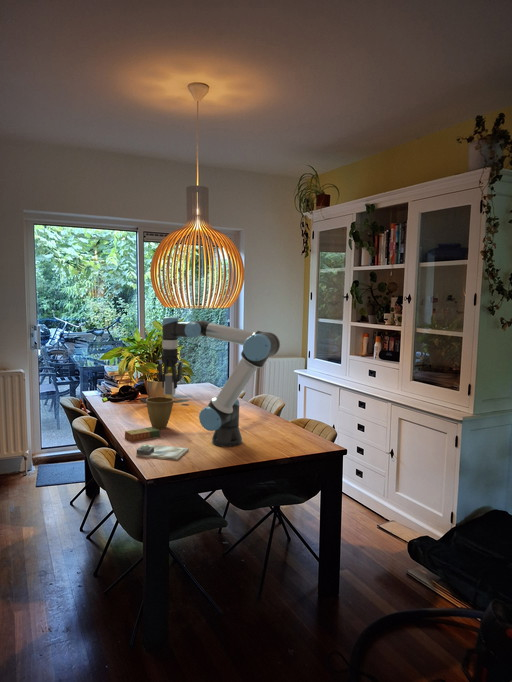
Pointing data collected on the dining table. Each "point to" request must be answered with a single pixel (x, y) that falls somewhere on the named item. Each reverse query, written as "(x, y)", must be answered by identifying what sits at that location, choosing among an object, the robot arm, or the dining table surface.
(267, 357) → the robot arm
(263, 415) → the dining table surface
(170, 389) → the grey rectangular bar
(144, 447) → the button
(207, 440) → the dining table surface
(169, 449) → the white tray
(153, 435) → the carton
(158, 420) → the plant pot
